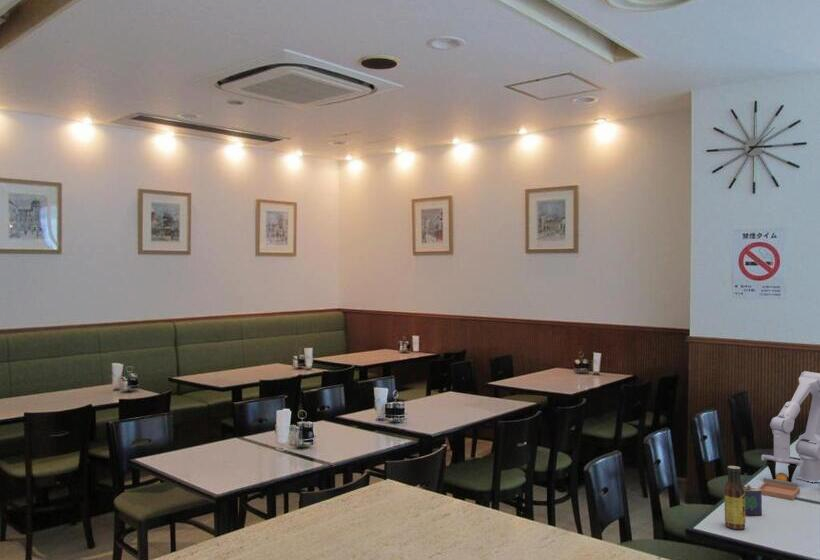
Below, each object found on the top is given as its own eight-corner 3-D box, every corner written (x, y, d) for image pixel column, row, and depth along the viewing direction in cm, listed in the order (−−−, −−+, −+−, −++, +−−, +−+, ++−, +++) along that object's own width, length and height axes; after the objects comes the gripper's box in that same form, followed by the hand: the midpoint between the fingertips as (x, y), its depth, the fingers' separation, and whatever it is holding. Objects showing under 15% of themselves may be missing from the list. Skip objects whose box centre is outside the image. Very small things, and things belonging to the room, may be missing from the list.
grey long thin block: (764, 485, 267) (764, 477, 267) (798, 491, 259) (798, 483, 259) (763, 485, 266) (763, 478, 266) (797, 491, 258) (797, 484, 258)
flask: (759, 513, 235) (759, 483, 235) (763, 516, 232) (763, 485, 232) (733, 513, 236) (733, 482, 236) (736, 516, 233) (736, 485, 233)
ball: (780, 482, 271) (780, 470, 271) (791, 485, 267) (791, 473, 267) (772, 483, 269) (772, 472, 269) (783, 486, 265) (783, 475, 265)
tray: (765, 486, 266) (765, 481, 266) (799, 492, 258) (799, 487, 258) (756, 493, 256) (756, 489, 256) (792, 500, 248) (792, 495, 248)
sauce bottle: (747, 531, 219) (747, 470, 219) (727, 529, 220) (727, 469, 220) (742, 523, 225) (741, 465, 225) (722, 522, 227) (722, 464, 226)
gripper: (759, 446, 270) (759, 479, 270) (800, 452, 260) (800, 486, 260) (763, 442, 275) (764, 475, 275) (804, 448, 265) (804, 482, 265)
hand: (781, 480), depth 268 cm, fingers open, 5 cm apart
